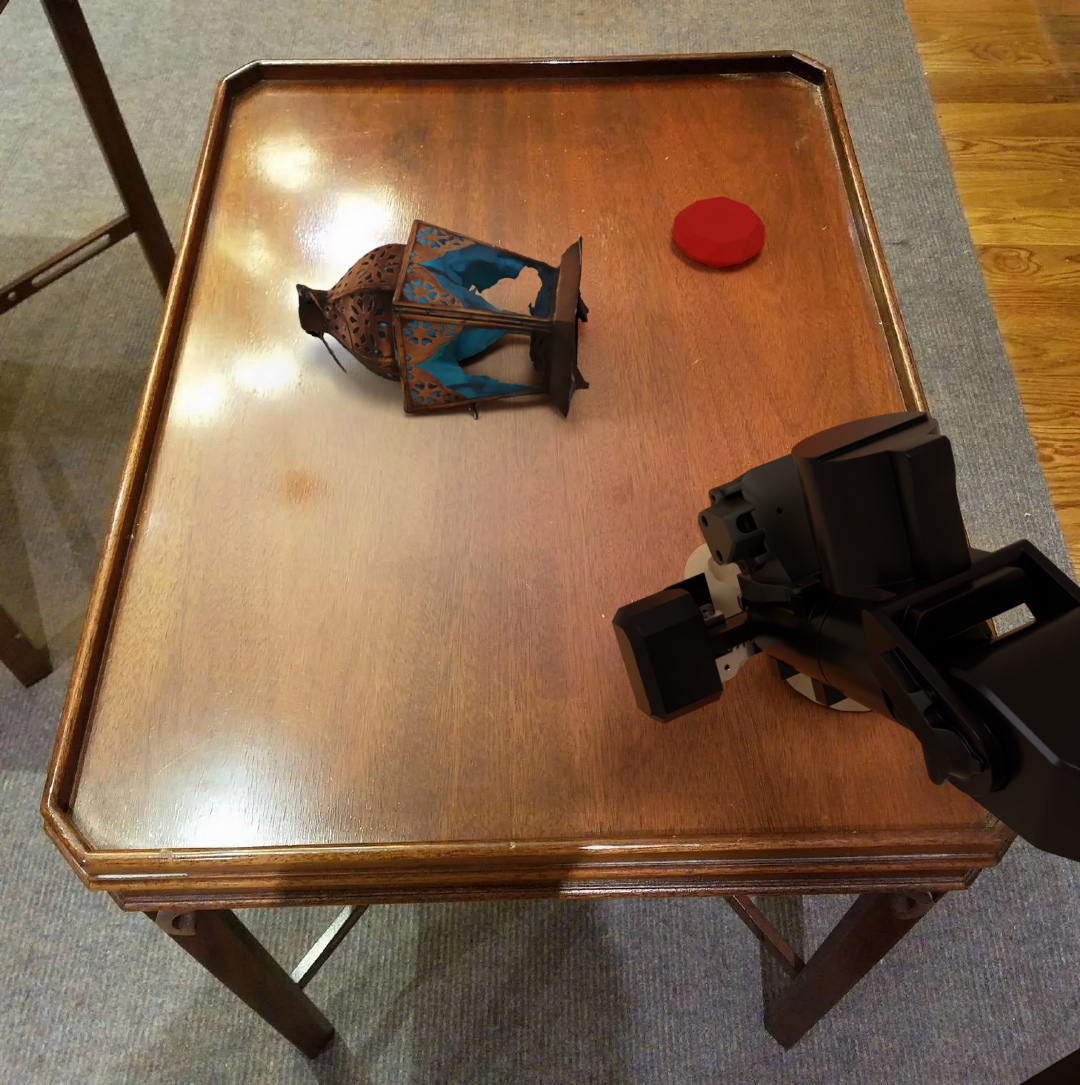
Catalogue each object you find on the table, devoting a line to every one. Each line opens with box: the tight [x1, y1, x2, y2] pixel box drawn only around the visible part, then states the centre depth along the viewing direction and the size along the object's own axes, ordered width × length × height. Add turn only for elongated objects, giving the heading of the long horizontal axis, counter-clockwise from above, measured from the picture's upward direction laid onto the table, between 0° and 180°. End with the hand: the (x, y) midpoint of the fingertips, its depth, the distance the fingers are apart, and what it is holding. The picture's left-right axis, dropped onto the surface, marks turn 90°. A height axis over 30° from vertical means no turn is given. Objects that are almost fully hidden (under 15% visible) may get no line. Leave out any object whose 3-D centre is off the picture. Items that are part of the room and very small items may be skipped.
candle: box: [681, 542, 748, 670], centre depth 58 cm, size 6×6×10 cm
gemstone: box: [671, 195, 766, 269], centre depth 90 cm, size 9×9×3 cm
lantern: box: [295, 218, 590, 420], centre depth 78 cm, size 16×16×25 cm
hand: (715, 575), depth 57 cm, fingers closed on candle, 5 cm apart
